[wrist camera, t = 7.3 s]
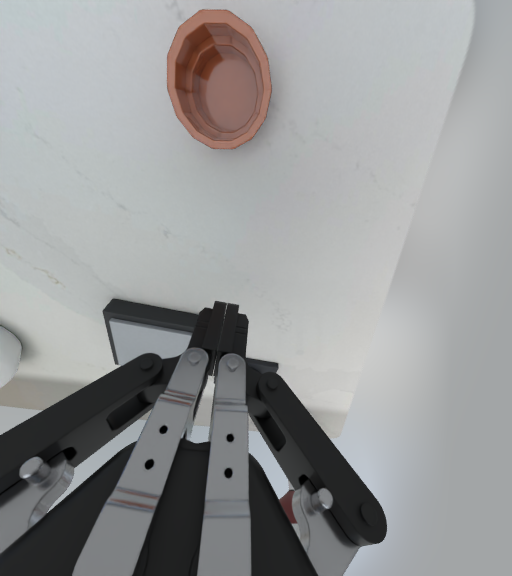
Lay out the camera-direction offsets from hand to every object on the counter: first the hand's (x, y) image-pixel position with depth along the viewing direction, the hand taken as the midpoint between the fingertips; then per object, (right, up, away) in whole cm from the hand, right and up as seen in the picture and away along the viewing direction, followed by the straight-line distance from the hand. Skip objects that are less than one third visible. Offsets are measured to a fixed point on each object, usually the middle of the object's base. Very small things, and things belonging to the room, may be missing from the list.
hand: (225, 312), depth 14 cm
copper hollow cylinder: (0, +17, +3) cm, 17 cm away
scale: (-12, -6, +21) cm, 25 cm away
